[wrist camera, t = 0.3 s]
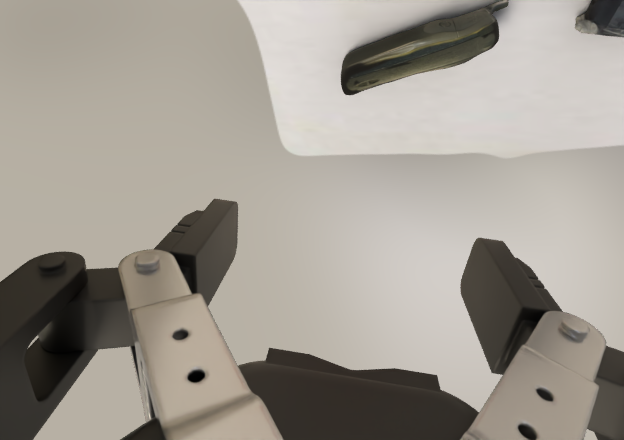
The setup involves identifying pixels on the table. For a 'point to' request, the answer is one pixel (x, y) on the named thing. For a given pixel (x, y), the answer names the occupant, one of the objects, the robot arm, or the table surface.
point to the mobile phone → (421, 49)
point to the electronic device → (603, 18)
